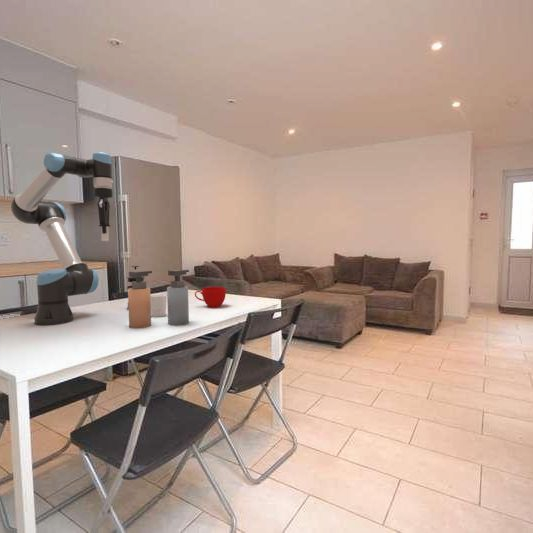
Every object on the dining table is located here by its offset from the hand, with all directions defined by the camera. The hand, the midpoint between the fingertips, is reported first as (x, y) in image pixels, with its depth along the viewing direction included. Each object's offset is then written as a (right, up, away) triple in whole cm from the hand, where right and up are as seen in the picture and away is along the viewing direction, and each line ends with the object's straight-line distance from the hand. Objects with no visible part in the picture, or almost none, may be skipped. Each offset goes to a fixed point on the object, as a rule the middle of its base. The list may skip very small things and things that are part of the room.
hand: (105, 240), depth 162 cm
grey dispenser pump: (+20, -21, -8) cm, 30 cm away
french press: (+4, -34, +30) cm, 46 cm away
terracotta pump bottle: (+19, -37, -8) cm, 42 cm away
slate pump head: (+35, -20, -4) cm, 41 cm away
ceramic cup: (+42, -34, +35) cm, 65 cm away
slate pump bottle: (+34, -37, -4) cm, 50 cm away
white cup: (+21, -36, +12) cm, 43 cm away
